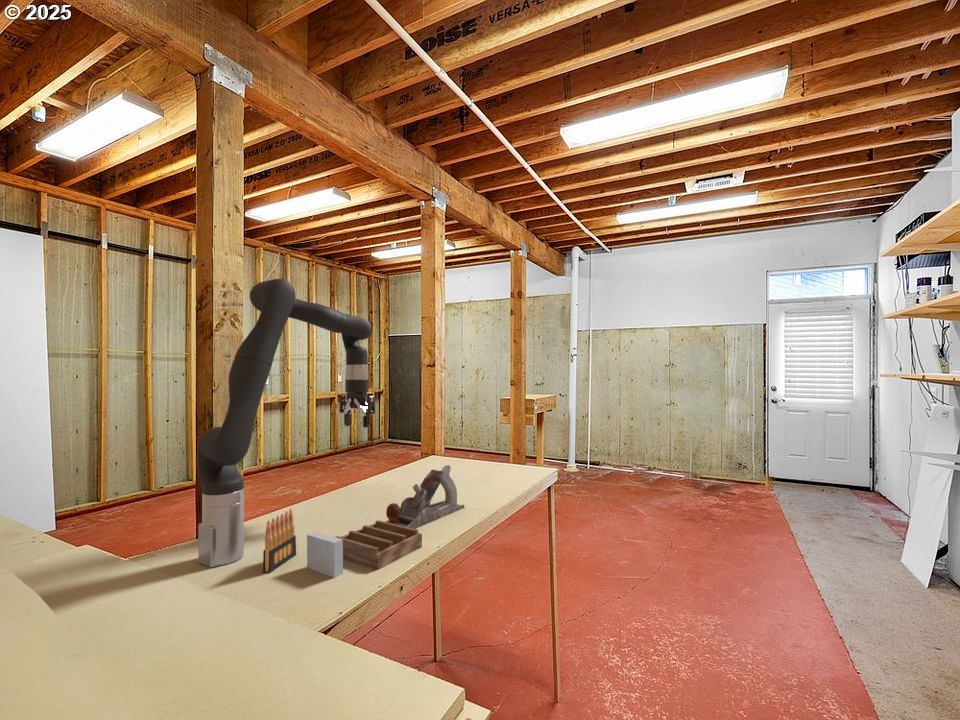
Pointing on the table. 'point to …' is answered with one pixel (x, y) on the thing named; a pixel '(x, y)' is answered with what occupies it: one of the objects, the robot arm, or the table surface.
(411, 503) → the hand plane
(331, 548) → the tile
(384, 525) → the rack
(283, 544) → the ammunition clip
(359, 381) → the robot arm
